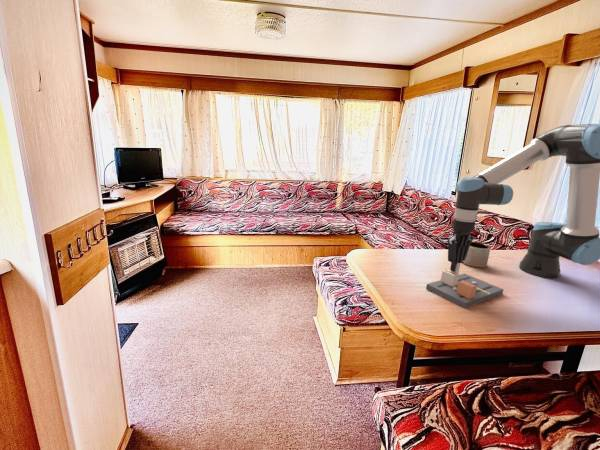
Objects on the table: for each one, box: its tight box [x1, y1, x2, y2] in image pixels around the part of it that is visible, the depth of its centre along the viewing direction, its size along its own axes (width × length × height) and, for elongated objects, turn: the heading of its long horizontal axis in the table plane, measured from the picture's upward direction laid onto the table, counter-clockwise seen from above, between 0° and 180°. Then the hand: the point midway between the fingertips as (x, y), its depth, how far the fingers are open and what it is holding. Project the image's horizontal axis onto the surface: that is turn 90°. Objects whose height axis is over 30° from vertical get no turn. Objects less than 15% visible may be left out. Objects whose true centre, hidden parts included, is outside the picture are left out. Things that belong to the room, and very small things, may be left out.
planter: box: [463, 240, 491, 269], centre depth 150 cm, size 11×11×10 cm
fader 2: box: [456, 280, 477, 299], centre depth 114 cm, size 3×5×5 cm, turn 31°
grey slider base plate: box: [425, 272, 504, 309], centre depth 122 cm, size 24×16×3 cm, turn 121°
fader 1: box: [440, 269, 460, 287], centre depth 123 cm, size 3×5×5 cm, turn 31°
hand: (453, 278), depth 124 cm, fingers closed
